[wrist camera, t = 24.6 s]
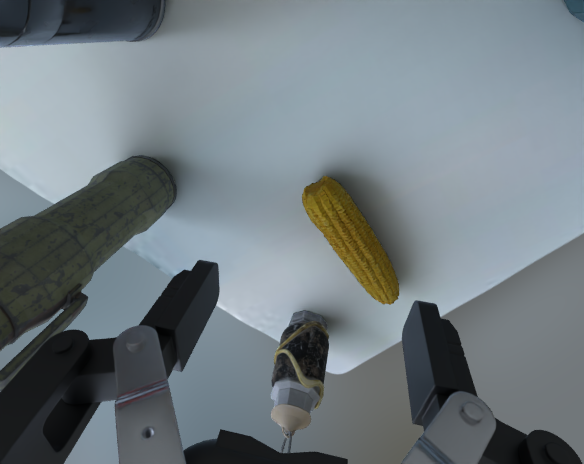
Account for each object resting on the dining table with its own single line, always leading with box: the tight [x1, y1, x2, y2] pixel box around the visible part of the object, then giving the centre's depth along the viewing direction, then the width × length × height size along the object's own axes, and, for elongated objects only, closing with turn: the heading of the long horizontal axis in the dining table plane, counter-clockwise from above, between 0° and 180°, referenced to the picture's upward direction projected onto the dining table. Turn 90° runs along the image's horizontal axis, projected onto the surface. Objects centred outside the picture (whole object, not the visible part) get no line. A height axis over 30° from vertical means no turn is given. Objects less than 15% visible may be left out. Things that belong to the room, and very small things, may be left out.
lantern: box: [270, 311, 329, 453], centre depth 46 cm, size 9×8×25 cm
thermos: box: [0, 155, 176, 391], centre depth 33 cm, size 9×12×35 cm
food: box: [302, 176, 399, 305], centre depth 43 cm, size 21×6×6 cm, turn 36°
